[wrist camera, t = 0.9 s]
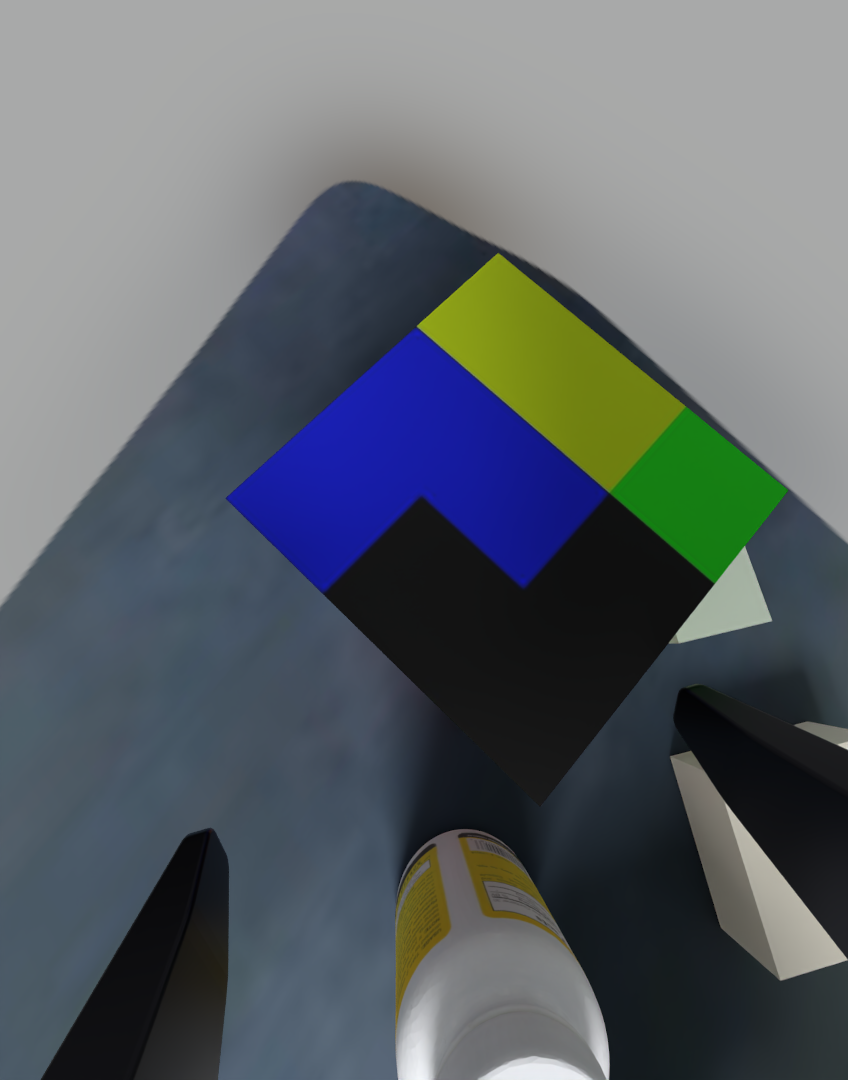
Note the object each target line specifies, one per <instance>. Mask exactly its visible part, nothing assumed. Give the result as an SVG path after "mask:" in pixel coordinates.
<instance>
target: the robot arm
mask: <svg viewBox="0 0 848 1080" xmlns="http://www.w3.org/2000/svg"><path fill="white" fill-rule="evenodd" d="M673 718H674V723H675V726H676V728H677V730H678V731H679V733H680V734H681V736H682V738H683V739H684V741H685V742H686V744H687V745H688V747H689V748H690V750H691V751H692V753H693V754H694V756H695V758H696V759H697V761H698V762H699V764H700V765H701V767H702V768H703V770H704V771H705V773H706V774H707V776H708V777H709V779H710V781H711V782H712V784H713V785H714V787H715V788H716V790H717V791H718V793H719V794H720V796H721V797H722V798H723V800H724V801H725V803H726V804H727V805H728V807H729V808H730V809H731V811H732V812H733V813H734V815H735V816H736V817H737V818H738V820H739V821H740V822H741V824H742V825H743V826H744V827H745V829H746V830H747V831H748V833H749V834H750V835H751V836H752V838H753V839H754V840H755V842H756V843H757V844H758V845H759V847H760V848H761V849H762V850H763V852H764V853H765V854H766V856H767V857H768V858H769V859H770V861H771V862H772V863H773V865H774V866H775V867H776V868H777V870H778V871H779V872H780V874H781V875H782V876H783V877H784V879H785V880H786V881H787V883H788V884H789V885H790V886H791V888H792V889H793V890H794V891H795V893H796V894H797V895H798V897H799V898H800V899H801V900H802V902H803V903H804V904H805V906H806V907H807V908H808V909H809V911H810V912H811V913H812V915H813V916H814V917H815V918H816V920H817V921H818V922H819V923H820V925H821V926H822V927H823V929H824V930H825V931H826V932H827V934H828V935H829V936H830V938H831V939H832V940H833V941H834V943H835V944H836V945H837V947H838V948H839V949H840V950H841V952H842V953H843V954H844V955H845V957H846V958H847V959H848V750H847V749H845V748H843V747H841V746H839V745H836V744H834V743H832V742H830V741H827V740H825V739H823V738H821V737H819V736H816V735H814V734H812V733H810V732H807V731H805V730H803V729H801V728H798V727H796V726H794V725H792V724H790V723H787V722H785V721H783V720H781V719H778V718H776V717H774V716H772V715H770V714H767V713H765V712H763V711H761V710H758V709H756V708H754V707H752V706H750V705H747V704H745V703H743V702H741V701H738V700H736V699H734V698H732V697H730V696H727V695H725V694H723V693H721V692H718V691H716V690H714V689H712V688H710V687H707V686H705V685H702V684H694V685H691V686H687V687H684V688H682V689H680V690H679V693H678V697H677V701H676V706H675V711H674V717H673ZM228 929H229V864H228V858H227V855H226V853H225V851H224V849H223V846H222V844H221V842H220V840H219V838H218V836H217V834H216V832H215V831H214V830H213V829H212V828H207V829H204V830H200V831H197V832H193V833H190V834H188V835H187V836H186V837H185V838H184V839H183V840H182V842H181V843H180V845H179V847H178V848H177V850H176V852H175V854H174V855H173V857H172V859H171V860H170V862H169V864H168V865H167V867H166V869H165V870H164V872H163V874H162V875H161V877H160V879H159V881H158V882H157V884H156V886H155V887H154V889H153V891H152V892H151V894H150V896H149V897H148V899H147V901H146V902H145V904H144V906H143V908H142V909H141V911H140V913H139V914H138V916H137V918H136V919H135V921H134V923H133V924H132V926H131V928H130V930H129V931H128V933H127V935H126V936H125V938H124V940H123V941H122V943H121V945H120V946H119V948H118V950H117V951H116V953H115V955H114V957H113V958H112V960H111V962H110V963H109V965H108V967H107V968H106V970H105V972H104V973H103V975H102V977H101V978H100V980H99V982H98V984H97V985H96V987H95V989H94V990H93V992H92V994H91V995H90V997H89V999H88V1000H87V1002H86V1004H85V1005H84V1007H83V1009H82V1011H81V1012H80V1014H79V1016H78V1017H77V1019H76V1021H75V1022H74V1024H73V1026H72V1027H71V1029H70V1031H69V1033H68V1034H67V1036H66V1038H65V1039H64V1041H63V1043H62V1044H61V1046H60V1048H59V1049H58V1051H57V1053H56V1054H55V1056H54V1058H53V1060H52V1061H51V1063H50V1065H49V1066H48V1068H47V1070H46V1071H45V1073H44V1075H43V1076H42V1078H41V1080H218V1073H219V1063H220V1053H221V1044H222V1034H223V1024H224V1015H225V1005H226V995H227V982H228Z"/></svg>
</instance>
